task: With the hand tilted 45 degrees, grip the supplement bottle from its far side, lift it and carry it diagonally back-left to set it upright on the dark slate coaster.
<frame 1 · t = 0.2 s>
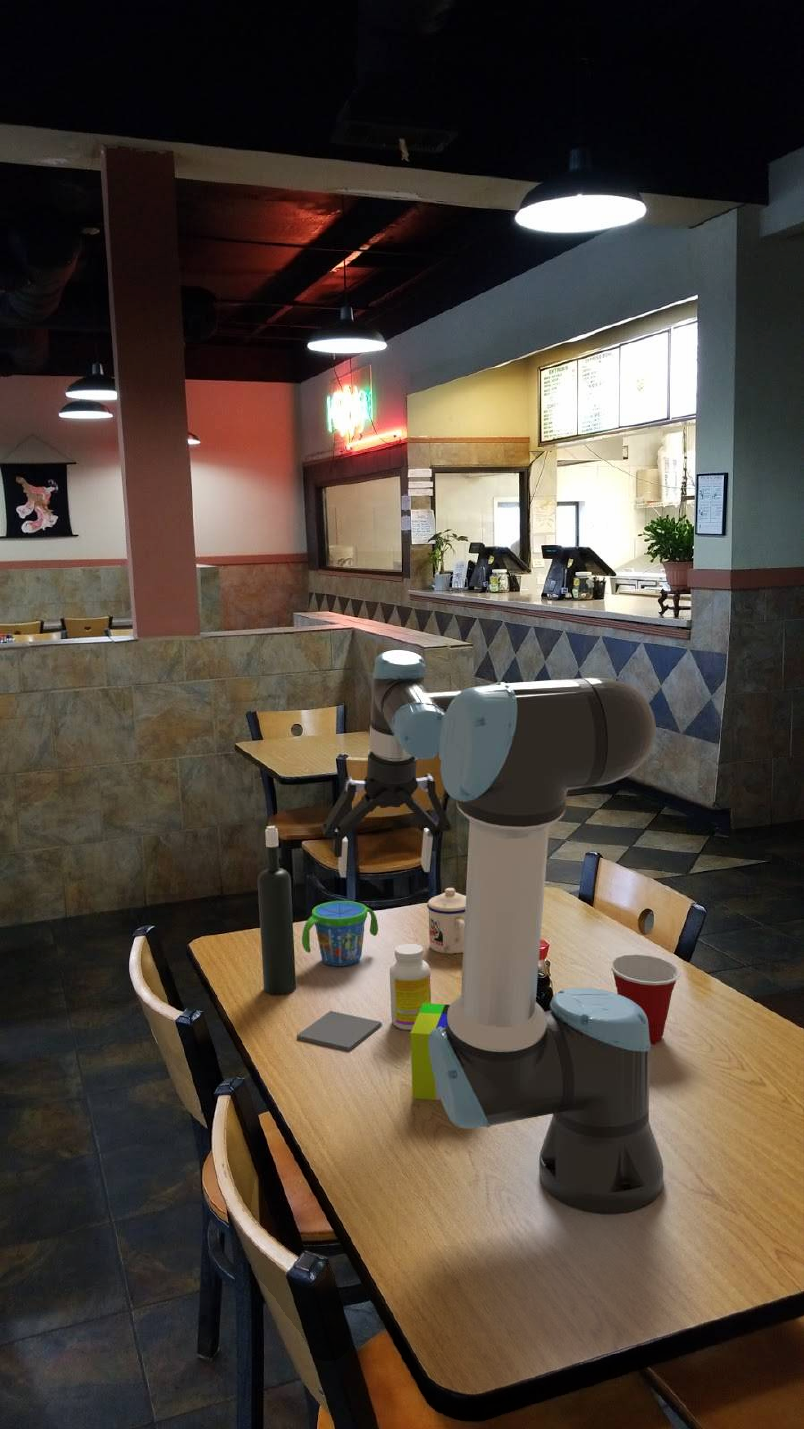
hand: (383, 870, 172), 27 cm above the table, tool tilted 15°, fingers open, 13 cm apart
coaster: (339, 1031, 176), on the table
snack cup: (341, 961, 206), on the table
supplement bottle: (411, 1023, 178), on the table
plastic cup: (644, 1038, 170), on the table
wine bottle: (280, 989, 193), on the table
puzzle toy: (452, 1084, 158), on the table
teacup with lid: (454, 949, 210), on the table
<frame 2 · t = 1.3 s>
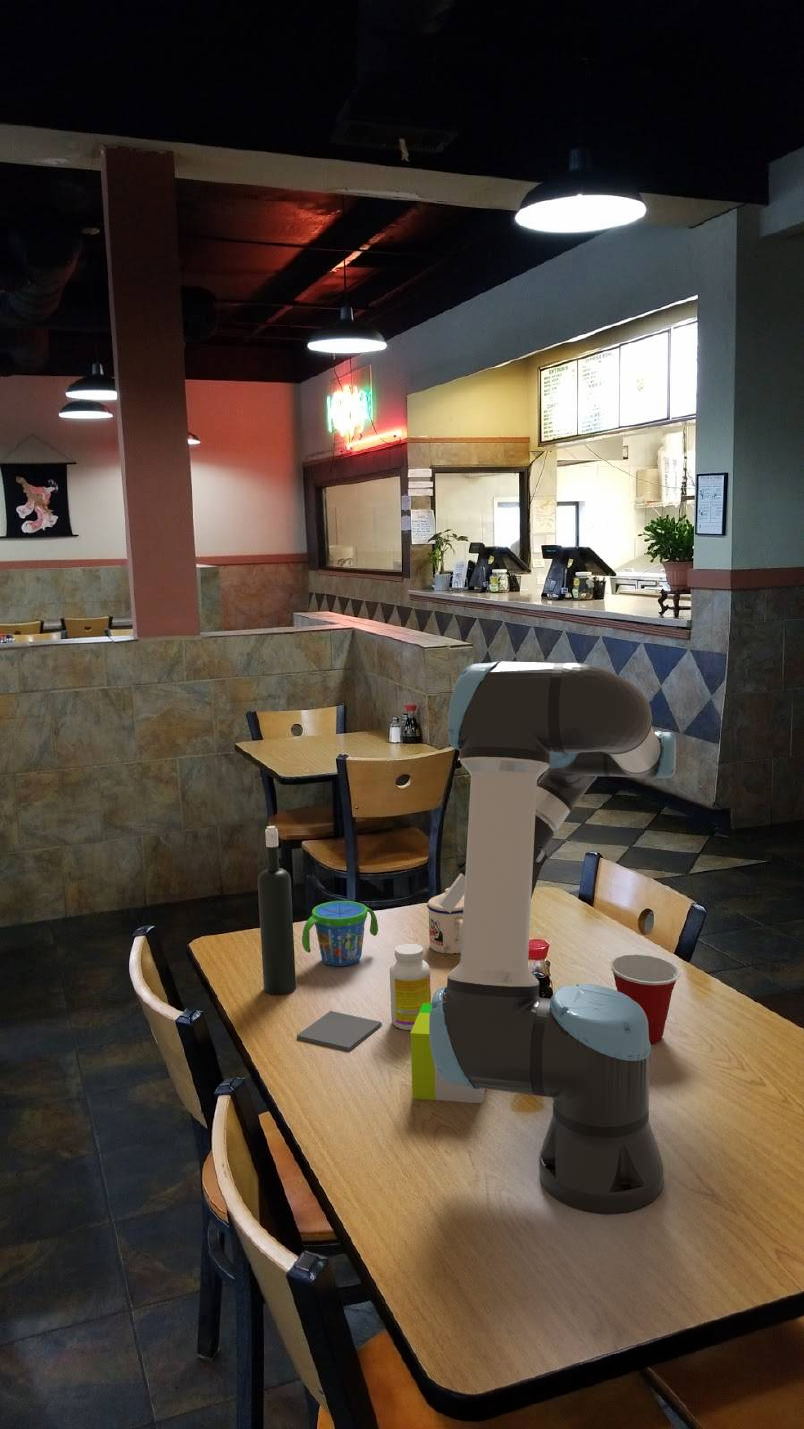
hand: (464, 920, 180), 16 cm above the table, tool tilted 45°, fingers open, 13 cm apart
nothing on the table moved.
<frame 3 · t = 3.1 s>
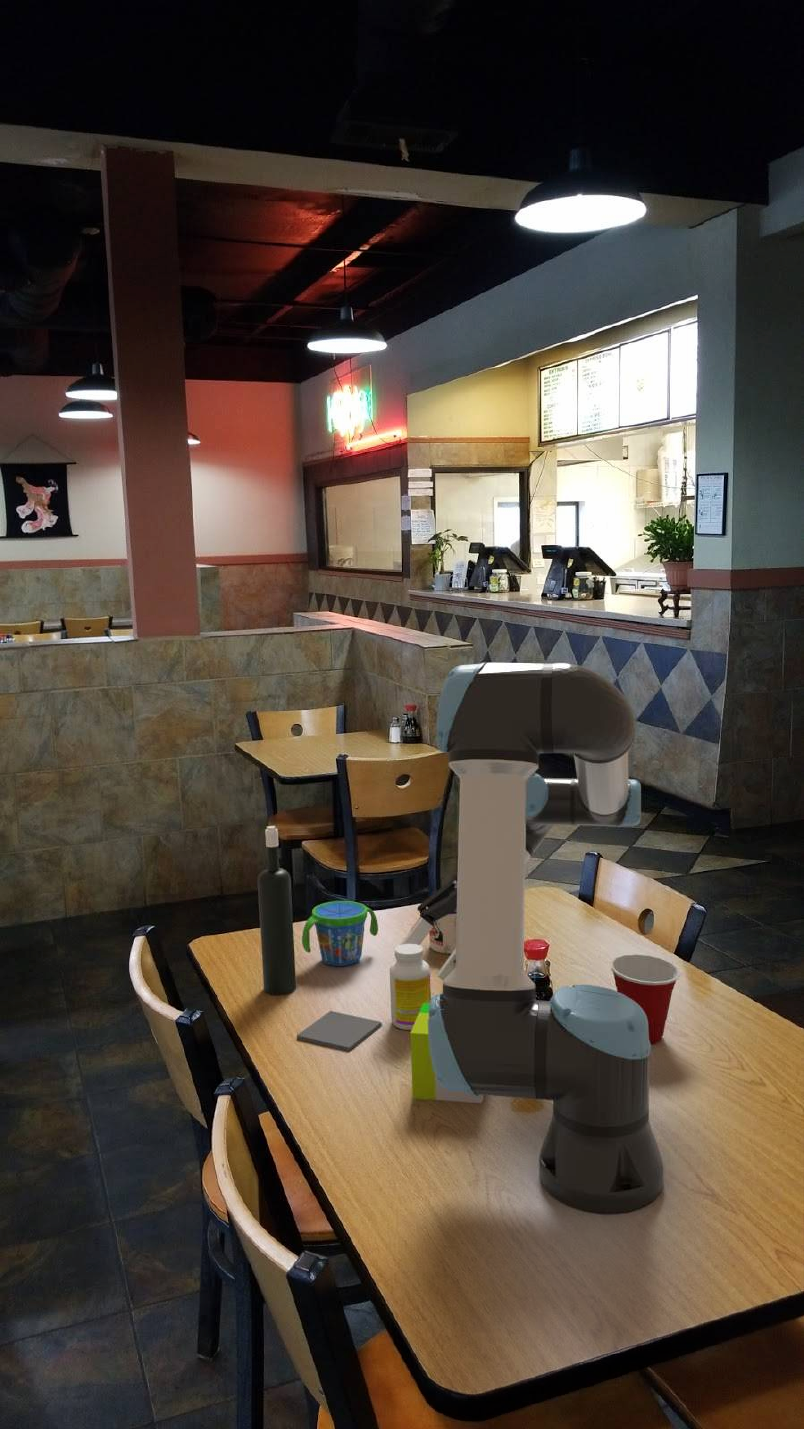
hand: (422, 966, 179), 9 cm above the table, tool tilted 45°, fingers open, 13 cm apart
nothing on the table moved.
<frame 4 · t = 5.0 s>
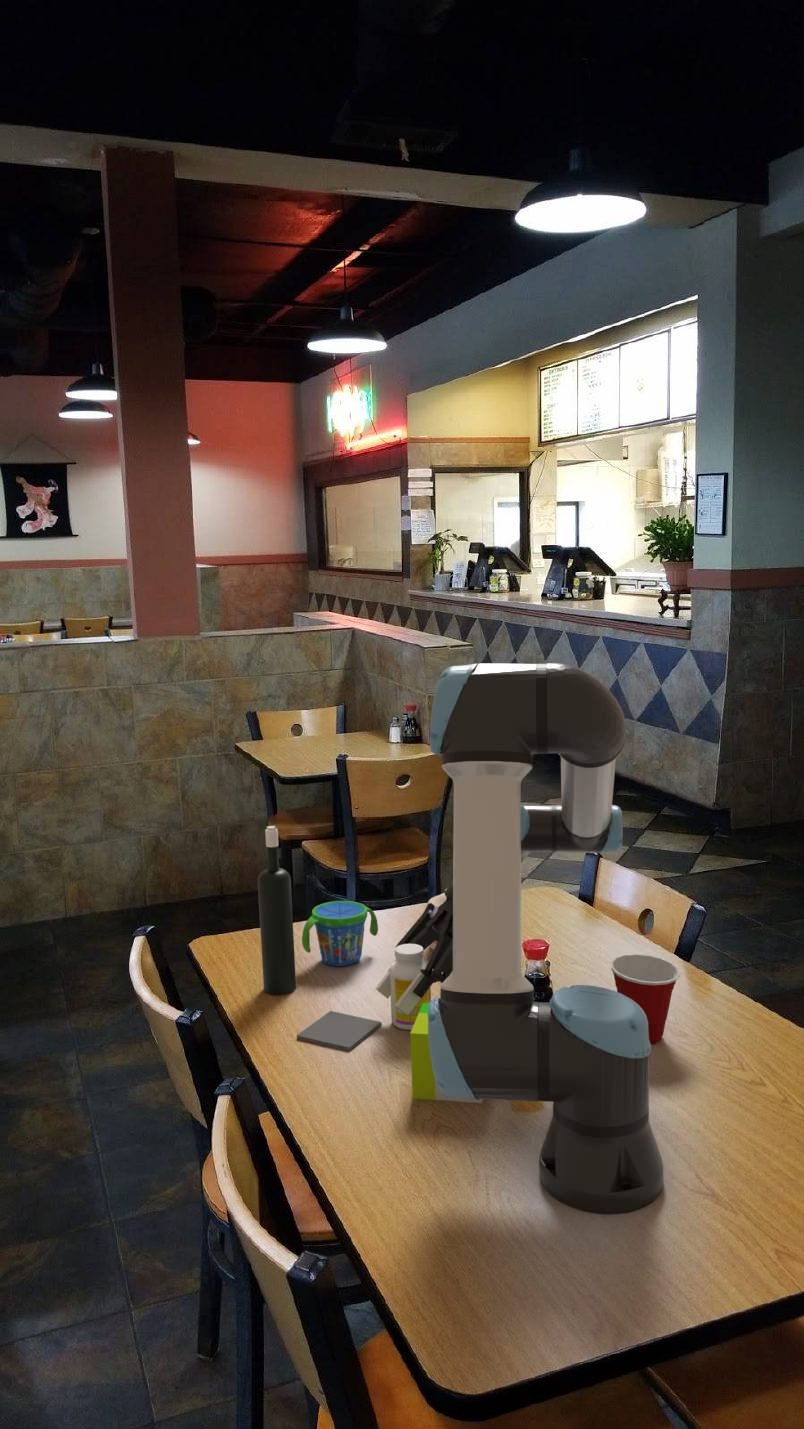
hand: (391, 1001, 176), 4 cm above the table, tool tilted 45°, fingers closed on supplement bottle, 7 cm apart
supplement bottle: (411, 1023, 178), on the table, touching gripper
everything else where it was.
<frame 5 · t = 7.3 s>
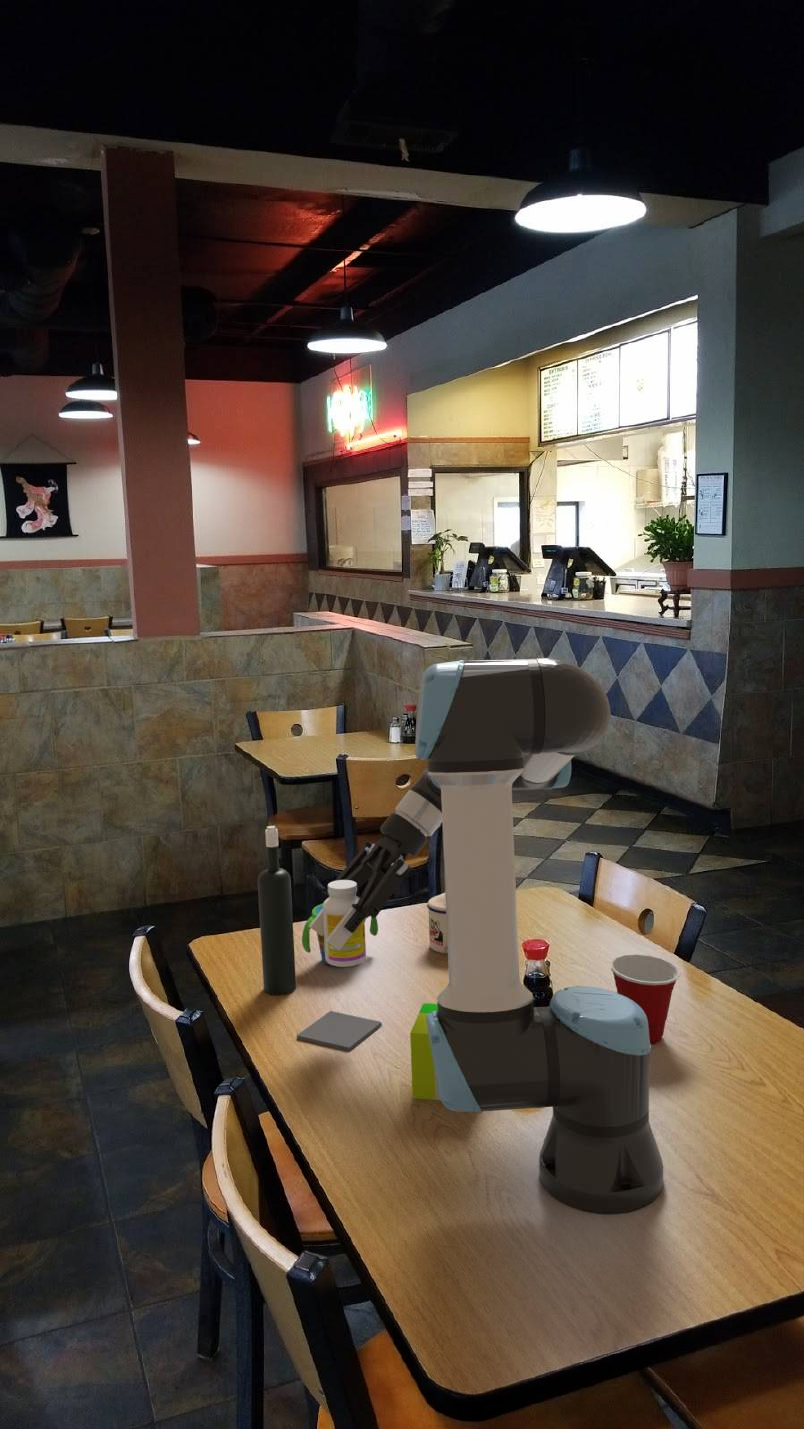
hand: (323, 938, 172), 16 cm above the table, tool tilted 45°, fingers closed on supplement bottle, 7 cm apart
supplement bottle: (345, 961, 175), point 12 cm above the table, touching gripper
everything else where it was.
when the fingers open (7 cm above the table, at t = 9.6 s): supplement bottle drops 1 cm, resting on coaster.
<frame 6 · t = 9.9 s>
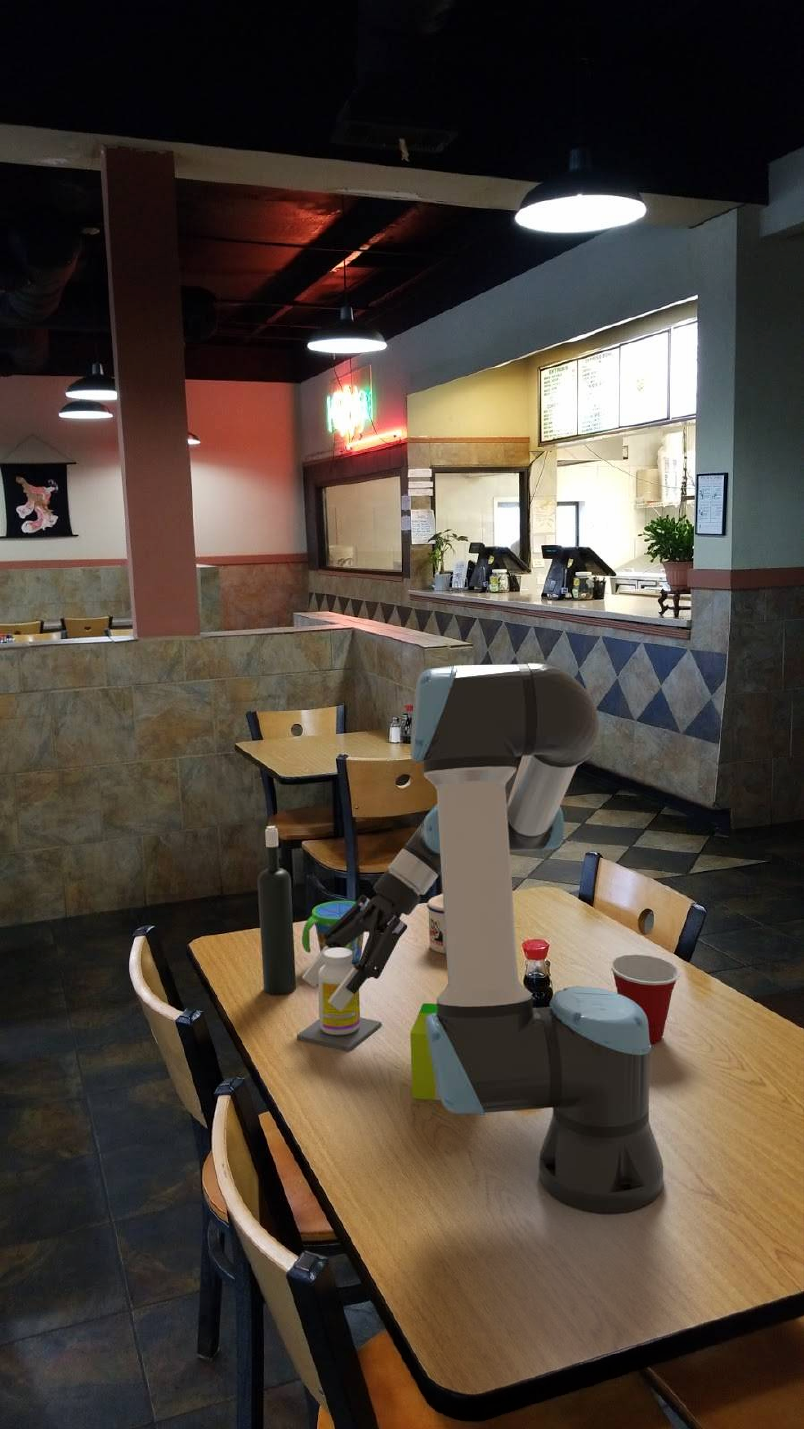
hand: (320, 994, 173), 7 cm above the table, tool tilted 45°, fingers open, 10 cm apart
supplement bottle: (339, 1029, 176), resting on coaster
everything else where it was.
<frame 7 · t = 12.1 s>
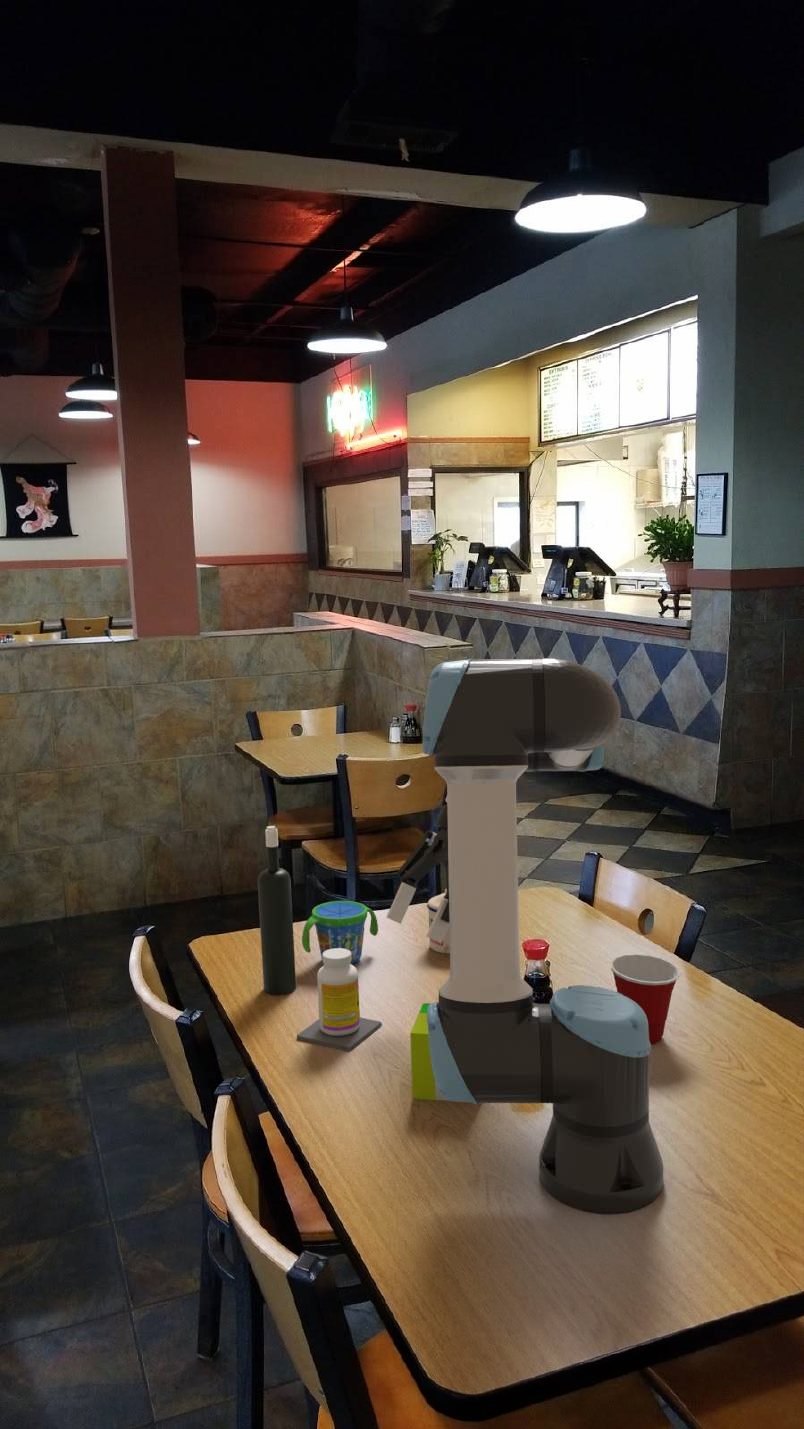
hand: (412, 930, 177), 15 cm above the table, tool tilted 30°, fingers open, 13 cm apart
nothing on the table moved.
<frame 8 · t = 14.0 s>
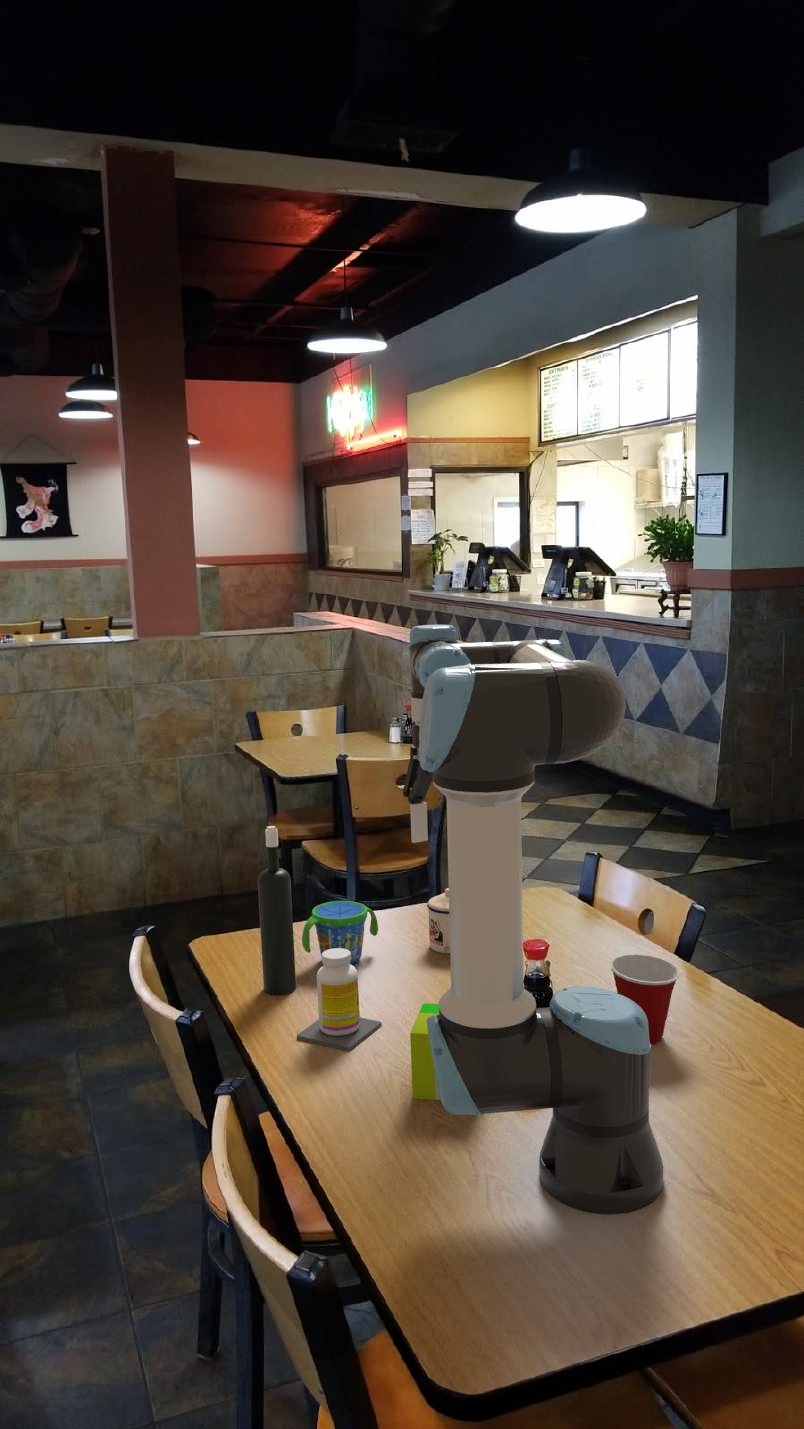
hand: (439, 851, 175), 29 cm above the table, tool pointing down, fingers open, 13 cm apart
nothing on the table moved.
at the end: supplement bottle inside the target area on the coaster (0.1 cm from its centre), point 0.4 cm above the coaster's base; supplement bottle tilted 0°; the gripper is holding nothing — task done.
